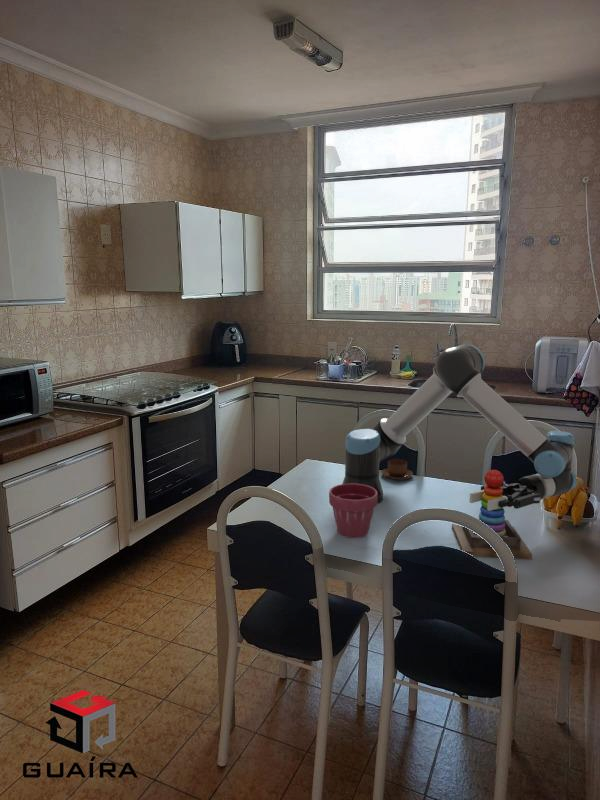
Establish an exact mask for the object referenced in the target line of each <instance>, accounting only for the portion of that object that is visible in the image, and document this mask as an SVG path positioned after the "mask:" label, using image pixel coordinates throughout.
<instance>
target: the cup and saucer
mask: <svg viewBox="0 0 600 800" xmlns="http://www.w3.org/2000/svg"><path fill="white" fill-rule="evenodd" d="M381 474H382V475H383V476H384V477H386V478H388V479H392V480H398V481H399V480H407V479H409V478H411V477H413V474H414V472H413V471H412V470H411V469H408V461H407V460H404V459H402V458H393V459H389V460H388V461H387V468H384V469H382V470H381ZM405 475H408V476H406V477H404V476H405Z"/></svg>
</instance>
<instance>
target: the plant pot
mask: <svg viewBox="0 0 600 800" xmlns="http://www.w3.org/2000/svg"><path fill="white" fill-rule="evenodd" d="M328 497H329V499H328V500H329V505H330V506H331V507H332V511H333V515H334V520H335V525H336V528H337V533H338V534H339V535H341V536H342V537H347V538H353V539H354V538H356V539H357V538H362V537H364V536H366V535H367V534H368V533H369V530H370V526H371V522H372V517H373V514H374V510H375V508H376V507H377V506H378V504H377V501H378V494H377V491H376V490H375V489H374V488H373V487H370V486H367V485H363V484H353V483H351V484H342V483H340V484H337V485H334V486H333V487H331V488H330V489H329V492H328Z"/></svg>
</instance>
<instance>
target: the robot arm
mask: <svg viewBox="0 0 600 800" xmlns="http://www.w3.org/2000/svg"><path fill="white" fill-rule="evenodd" d="M485 365H486V360H485V356H484V354H483V352H482V351H481V350H480V349H479V348H478V347H476V346H474V345H472V344H464V343H463V344H460V345H459V344H458V345H457V346H453V347H448V348H446V349H445V350H443V351H441V353H440V354H439V355H438V356H437V358H436V360H435V365H434V366H433V368H432V371H433V374H432V375H431V376H430V377H429V378H428V379H427V380H426V381H425V382H423V384H422V385H420V387H419V388H418V389H417V390H416V391H414V392H413V394H412V395H411V396H409V397H408V398H407V399H406V400H405V401H404V402H403V403H402V404H401V405H400V407H398V408H397V410H395V411H394V412H393V413H392V414H391V415H390V416H389V417H383V418H381V419H380V420H379V421H378V422H377V423H376V424H375V425H374V426H373V427H372V428H360V429H355V430H352V431H350V432H349V433H348V434H347V435H346V437H345V444H344V449H345V450H344V453H345V455H344V463H345V465H344V477H343V481H342V483H341V484H351V483H353V484H363V485H367V486H370V487H373V488H374V489H375V490H376V491H377V494H378V501H377V505H378V504H380V503H382V502H383V501H384V491H383V486H382V484H381V481H380V463H381V462H382V461H383V462H384V461H385V460H387V459H388V458H391V457H393V456H394V455H396V453H397V452H398V451H399V450H400V449H401V447H402V446H403V444H404V443H406V441H407V435H408V434H410V432H412V431H413V429H415V427H417V426H418V425H419V424H420V423H421V422H422V421H423V420H424V419H425V418H426V417H427V416H428V415H429V414H431V413H432V412H433V411H434V409H436V408H437V407H438V406H439V405H440V404H441V403H442V402H444V400H445V399H447V397H449V396H450V395H451V394H454V395H455V396H456V397H457V398H463V399H464V400H465V401H467V403H469V404H470V405H471V407H473V409H475V410H476V411H477V412H478V413H479V414H481V416H483V417H484V418H485V419H486V420H487V421H488V422H489V423H490V424H491V426H493V427H494V428H495V429H496V430H498V431H499V432H500V433H501V434H502V435H503V436H504V437H505V438H506V439H508V440H509V441H510V442H511V444H513V445H514V446H515V447H516V448H517V449H518V450H519V451H520V452H521V453H522V454H524V456H526V457H527V458H528V460H530V462H532V463H533V467H534V469H535V471H536V474H535V473H534V474H531V475H526V476H523V477H520V478H519V479H518V481H517V482H515V483H510V484H508V483H506V481H505V480H503V484H502V485H501V486H500V487H501V488H502V489H503V493H502V494H501V495H502V496H503V497H500V498H496V499H492V500H488V505H487V510H489V511H490V510H494V509H498V508H502V507H503V508H506V507H508V508H512V507H513V508H514V509H516V510H517V509H521V508H525V507H526V506H530V505H533V504H534V505H535V504H540V503H541V500H544V499H548V498H552V497H556V496H560V495H565V494H567V493H570V492H571V491H570V490H571V489H573V488H574V487H575V488H576V486H577V485H578V478H577V476H576V473H575V472H574V471H573V470H572V463H573V462H572V461H573V455H574V454H573V453H574V452H573V451H574V447H575V442H574V441H575V438H574V434H572V433H571V432H568V431H563V430H551V431H548V432H547V434H546V436H545V435H543V433H541V432H540V430H538V429H537V428H536V427H535V426H534V425H532V423H530V422H529V421H528V420H527V419H526V417H524V416H523V415H521V413H519V412H518V411H517V409H515V408H514V407H513V406H512V405H510V403H509V402H507V401H506V400H505V399H504V398H503V397H502V396H501V395H499V394H498V393H497V392H496V391H495V390H494V389H493V388H492V387H491V386H490V385H488V384H487V383H486V382H485V381H484V380H483V379H482V373H483V371H484V369H485ZM485 486H487V484H484V485H481V486H480V490H478V491H472V492H470V493H469V503H470V504H474V503H476V502H481V501H482V499H483V498H482V496H483V494H484V493H485V492H484V487H485ZM575 488H574V489H575ZM574 489H573V490H574ZM569 491H570V492H569Z"/></svg>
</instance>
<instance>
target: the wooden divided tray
mask: <svg viewBox="0 0 600 800" xmlns="http://www.w3.org/2000/svg"><path fill="white" fill-rule="evenodd" d="M504 522H505V530H506V534H505V535H504V536H503V537H501V538H502V539H503V541H504V542H505V543H506V544H507V545H508V547H509V548H510V550H511V552H512V554H513V556H514V558H515V559H516V560H533V553H532V551H531V550H530V549H529V547H528V546H527V544H526V543H525V541H524V540H523V538H522V536H520V535H521V534H519V533H518V531H517V529H516V528H515V527H514V526H513V525H512V524H511V523H510V521H509V520H508V519H505V521H504ZM455 524H456V523H452V524H451V530H452V533H453V532H454V533H453V535H454V537H455V539H456V542H457V545H458V547H459V549H460V551H461V550H463V551H465V552H467V553H469V554H471V555H473V556H475V558H490V559H492V558H494V559H499V558H498V556H497V554H496V552H495V551H494V550H493V549H492V547H490V545H489V544H488V543H487V542H486V541H485V540H484V539H482V538H481V537H480V536H478V535H477V534H475V533H473V531H471V530H469V529H467V528H465V527H462V526H459V525H455Z"/></svg>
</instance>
